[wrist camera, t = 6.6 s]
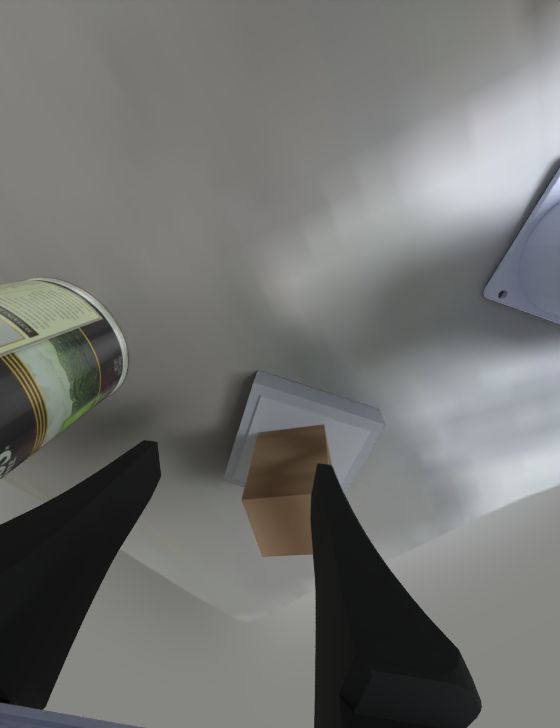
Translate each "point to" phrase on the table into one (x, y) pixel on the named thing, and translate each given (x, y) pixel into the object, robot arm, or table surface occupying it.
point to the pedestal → (305, 425)
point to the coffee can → (52, 362)
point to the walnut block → (284, 488)
